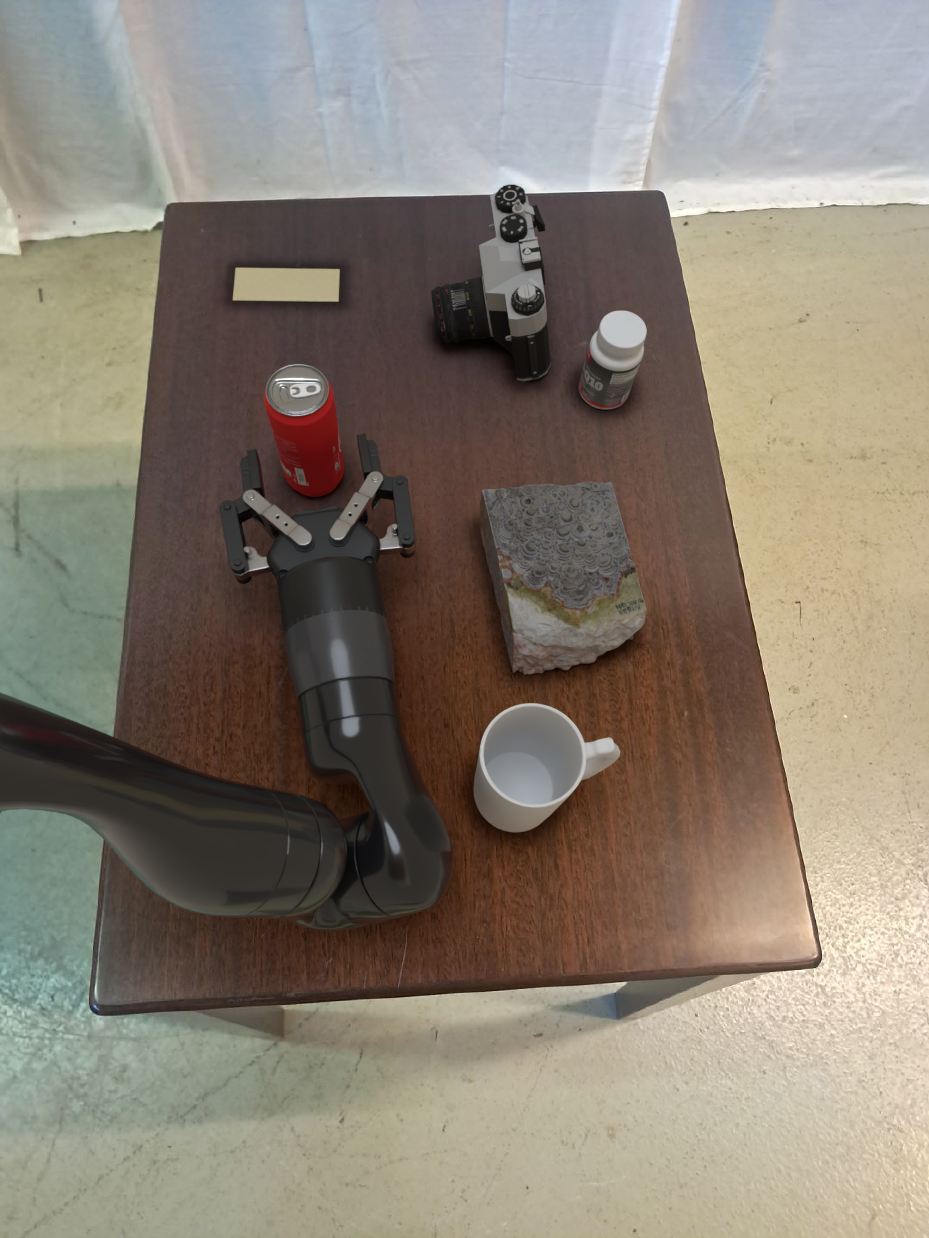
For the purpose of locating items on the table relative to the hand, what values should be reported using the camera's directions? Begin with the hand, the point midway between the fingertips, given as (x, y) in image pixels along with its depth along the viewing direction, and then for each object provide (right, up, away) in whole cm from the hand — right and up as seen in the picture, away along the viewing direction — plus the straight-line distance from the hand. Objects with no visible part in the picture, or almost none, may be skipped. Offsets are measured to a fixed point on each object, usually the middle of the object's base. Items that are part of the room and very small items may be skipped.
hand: (307, 447), depth 69 cm
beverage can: (-1, -1, +7) cm, 7 cm away
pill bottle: (+25, +8, +12) cm, 29 cm away
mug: (+18, -27, -2) cm, 32 cm away
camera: (+14, +15, +15) cm, 25 cm away
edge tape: (-5, +19, +15) cm, 24 cm away
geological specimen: (+20, -11, +4) cm, 23 cm away
